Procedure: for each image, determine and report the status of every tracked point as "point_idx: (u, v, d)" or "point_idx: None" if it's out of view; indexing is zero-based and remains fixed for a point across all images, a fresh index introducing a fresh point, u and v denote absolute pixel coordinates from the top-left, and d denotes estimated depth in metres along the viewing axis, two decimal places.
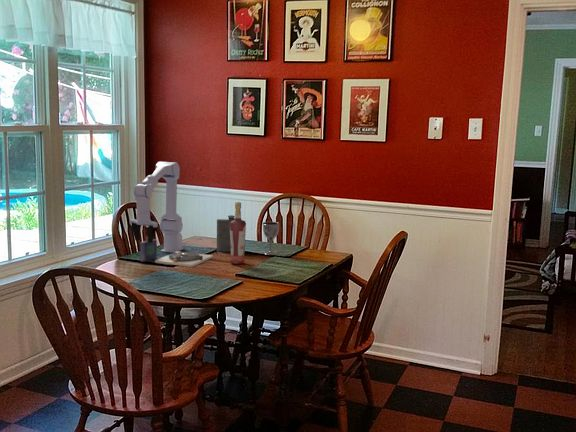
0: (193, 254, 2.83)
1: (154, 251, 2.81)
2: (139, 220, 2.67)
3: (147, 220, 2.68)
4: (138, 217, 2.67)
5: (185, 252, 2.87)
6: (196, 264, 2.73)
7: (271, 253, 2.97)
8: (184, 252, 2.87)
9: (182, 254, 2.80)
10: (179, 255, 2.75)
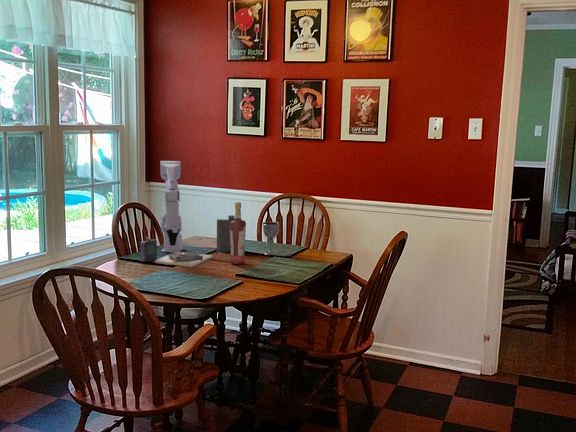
0: (193, 254, 2.83)
1: (154, 251, 2.81)
2: (166, 224, 2.78)
3: (172, 225, 2.76)
4: (166, 221, 2.78)
5: (185, 252, 2.87)
6: (196, 264, 2.73)
7: (271, 253, 2.97)
8: (184, 252, 2.87)
9: (182, 254, 2.80)
10: (179, 255, 2.75)
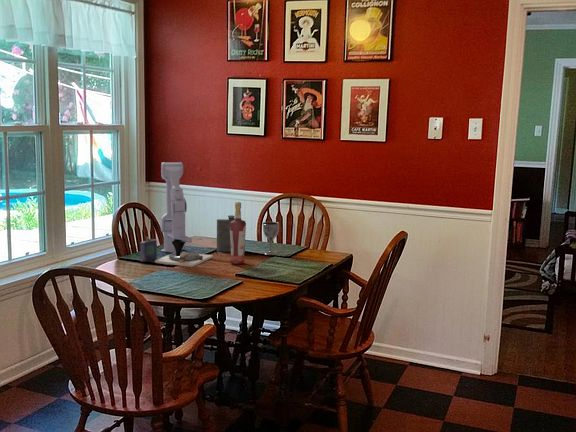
0: (191, 253, 2.85)
1: (154, 251, 2.81)
2: (174, 235, 2.72)
3: (182, 235, 2.72)
4: (173, 232, 2.72)
5: None
6: (196, 264, 2.73)
7: (271, 253, 2.97)
8: None
9: None
10: (184, 255, 2.75)
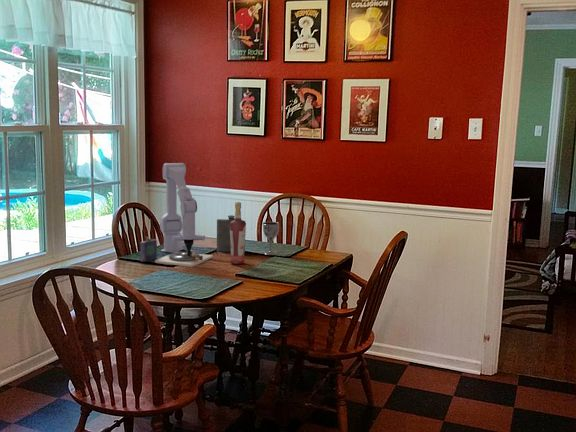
0: (183, 253, 2.85)
1: (154, 251, 2.81)
2: (189, 236, 2.72)
3: (194, 235, 2.75)
4: (188, 233, 2.72)
5: (171, 254, 2.82)
6: (196, 264, 2.73)
7: (271, 253, 2.97)
8: (171, 254, 2.82)
9: (186, 254, 2.80)
10: (195, 254, 2.78)
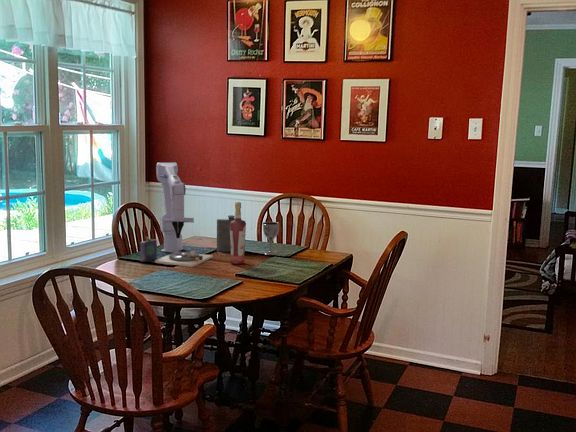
0: (183, 253, 2.85)
1: (154, 251, 2.81)
2: (178, 218, 2.80)
3: None
4: (177, 215, 2.80)
5: (171, 254, 2.82)
6: (196, 264, 2.73)
7: (271, 253, 2.97)
8: (171, 254, 2.82)
9: (186, 254, 2.80)
10: (195, 254, 2.78)
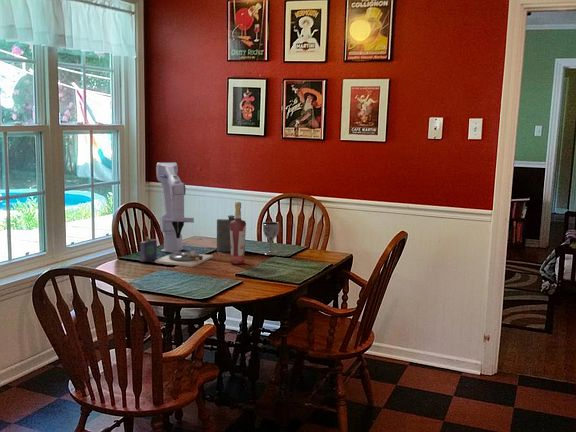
0: (183, 253, 2.85)
1: (154, 251, 2.81)
2: (178, 218, 2.80)
3: None
4: (177, 215, 2.80)
5: (171, 254, 2.82)
6: (196, 264, 2.73)
7: (271, 253, 2.97)
8: (171, 254, 2.82)
9: (186, 254, 2.80)
10: (195, 254, 2.78)
